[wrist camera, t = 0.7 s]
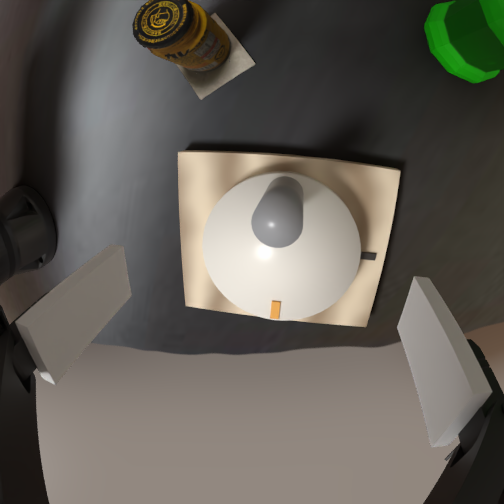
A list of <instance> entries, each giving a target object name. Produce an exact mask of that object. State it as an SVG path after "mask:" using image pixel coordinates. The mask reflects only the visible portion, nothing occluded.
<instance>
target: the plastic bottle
mask: <svg viewBox="0 0 504 504" xmlns="http://www.w3.org/2000/svg"><path fill="white" fill-rule="evenodd" d="M424 31H425V34H426V37H427V41H428V44H429V48H430V52H431V53H432V54H433V55H434V56H435V58H436V59H437V60H438V61H439V62H440V63H441V65H442V66H443V67H444V68H445V69H446V71H447V72H449V73H451V74H453V75H455V76H458V77H460V78H462V79H464V80H467V81H469V82H471V83H479V82H482V81H485V80H488V79H491V78H494V77H496V76H497V74H498V73H499V71H500V70H502V69H504V0H457V1H451V2H445V3H440V4H436V5H434V6H433V7H432V8H431V11H430V13H429V15H428V18H427V20H426V22H425V25H424Z"/></svg>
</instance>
